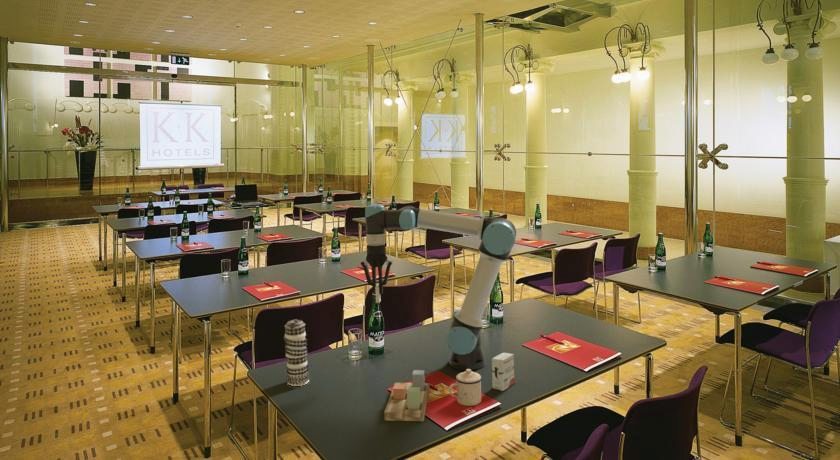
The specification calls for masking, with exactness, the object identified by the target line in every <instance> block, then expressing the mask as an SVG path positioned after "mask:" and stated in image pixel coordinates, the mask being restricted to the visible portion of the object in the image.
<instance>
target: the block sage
mask: <svg viewBox="0 0 840 460" xmlns="http://www.w3.org/2000/svg"><path fill="white" fill-rule="evenodd" d="M420 405H421V400H420V387H408V390H407V406H408V410H419V409H420Z"/></svg>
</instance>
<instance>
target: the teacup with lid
mask: <svg viewBox="0 0 840 460" xmlns="http://www.w3.org/2000/svg"><path fill="white" fill-rule="evenodd" d="M455 380H456V382H454V383H451V384H450V385H449V388H448V392H449V394H450V395H451V396H452V397H453V398H456V401H457V403H458V404H460V405H462V406H465V407H467V406H468V407H471V406H477V405H479V404H480V403H481V402H482V380H483V379H482V376H481V374H479V373H478V372H474V371H473V370H471V369H466V370H464V371H463V372H460V373H458V374H456V377H455ZM454 387H456V394H453V392H452V389H453V388H454Z"/></svg>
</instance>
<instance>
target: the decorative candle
mask: <svg viewBox="0 0 840 460" xmlns="http://www.w3.org/2000/svg"><path fill="white" fill-rule="evenodd" d="M284 331H285V332H284V335H283V343H284V353H285V357H286V367H285V369H286V373H287V374H286V378H287V379H286V382H287V385H288V384H289V385H291V386H301V387H303V386H302V385H305V384H307V383H308V382H309V383H310V376H309V374H310V373H309V370H310V369H309V364H308V359H307V355H308V349H309V348H308V347H307V346H308V345H309V344H308V338H306V337H307V336H309V334H308V333H306V322H304V321H303V320H301V319H297V318H296V319H291V320H288V321H287V322H286V324H285V325H284ZM309 383H308V384H309ZM308 384H307V385H308ZM291 386H290V387H291ZM305 386H306V385H305Z"/></svg>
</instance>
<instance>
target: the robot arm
mask: <svg viewBox="0 0 840 460" xmlns="http://www.w3.org/2000/svg"><path fill="white" fill-rule="evenodd" d="M364 212H365V214H364V215H365V217H364V219H365V220H364V221H365V240H366V244H367V245H366V257H365V259H364V260H362V261H361V262H360V265H361V267H362V268H363V271H364V275H365V278H366V282H367V285H369V286H371V287H372V294H373V295H375V304H379V303H381V301H382V299H381V297H382V296H381V295H383V293H384V287H383V286H386V285H387V284H388V281H389V280H388V279H389V275H390V271H391V266H392V265H393V264H394V261H393V260H390V259H389V258H388V256H387V253H386V252H387V251H386V250H387V249H386V248H387V246H386V244H385V243H386V230H403V231H405V230H412V229H414V228H423V229H429V230H434V231H441V232H446V233H447V232H449V233H452V234H453V233H454V234H458V235H459V234H460V235H464V236H471V237H477V238H478V239H479V240H480V244H479V246H478V252H479V259H478V261H477V263H476V267H475V269H474V272H473V275H472V277H471V280H470V282H469V285H468V289H467V292H466V294H465V296H464V299H463V302H462V305H461V308H460V309H455V310H453V312H452V316H451V317H452V321H451V324H450V327H449V329H448V331H447V333H446V336H445V341H446V344H447V347H448V348H449V350H450V355H449V359H448V360H449V365H450V367H452V368H454V369H456V370H461V371H466V369H471V371H473V370H475V371H476V370H479V369H482V368H483V367H485V366H486V364H487V363H486V362H487V361H486V356H485V354H484V350H483V348H482V329H483V326H484V323H483V321H482V317H483V314H484V312H485V309H486V308H487V307H486V306H487V304H488V301H489V299H490V295H491V293H492V290H493V288H494V285H495V282H496V280H497V277H498V274H499V272H500V269H501V267H502V265H503V263H505V262H507V261H508V259H509V256H510V254H511V251H512V249H513V248H514V245H515V242H516V236H517V230H516V229H517V228H516V226H515V225H514V223H513V222H512V221H511V220H509V219H507V218H504V217H491V216H485V215H484V216H482V217H481V218H480V217H475V216H469V215H461V214H456V213H449V212H444V211H435V210H431V209H423V208H416V207H414V206H412V205H406V206H402V207H401V208H399V209H395V210H394V209H389V210H388V209H385V206H384V205H383V204H369V205H367V206H366V207H365V209H364ZM385 264H386V268H385V272H384V277H383V266H384V265H385ZM368 265H369V267H371V274H370V271H369V267H368ZM377 272H378V273H377ZM377 274H378V283H377Z"/></svg>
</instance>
